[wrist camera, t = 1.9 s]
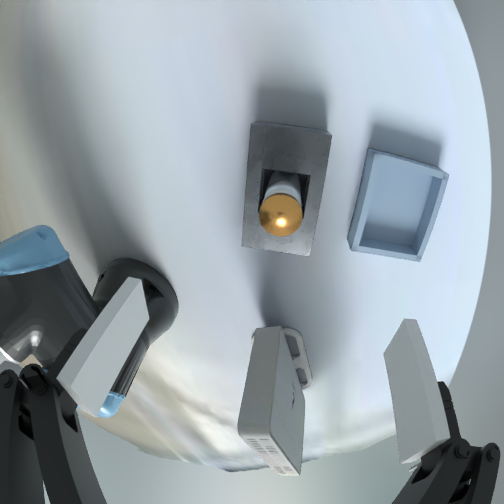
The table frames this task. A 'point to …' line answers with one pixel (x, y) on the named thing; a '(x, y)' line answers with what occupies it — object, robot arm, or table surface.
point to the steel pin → (282, 204)
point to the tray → (396, 206)
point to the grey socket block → (290, 160)
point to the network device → (275, 400)
